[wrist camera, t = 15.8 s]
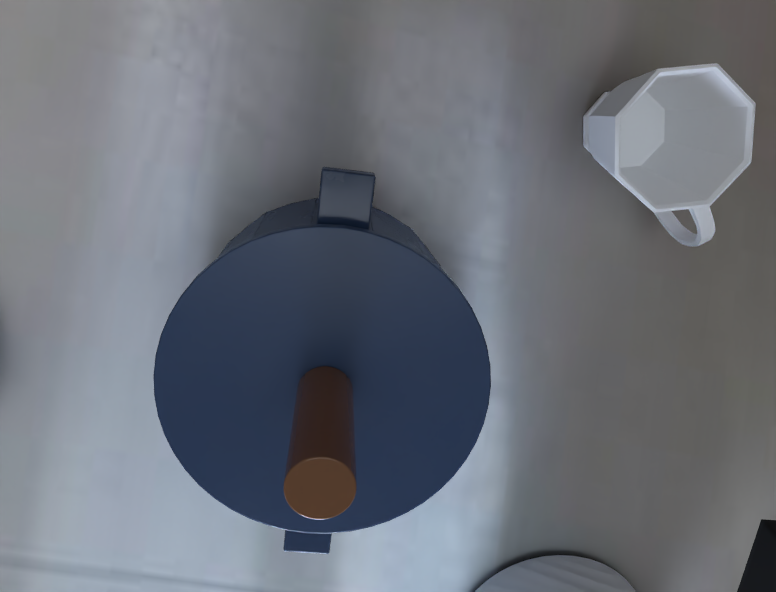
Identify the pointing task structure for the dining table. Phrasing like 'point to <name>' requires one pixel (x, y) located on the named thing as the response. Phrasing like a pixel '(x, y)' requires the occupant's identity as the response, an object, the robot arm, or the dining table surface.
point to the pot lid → (322, 378)
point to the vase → (557, 576)
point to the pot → (338, 207)
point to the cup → (674, 141)
